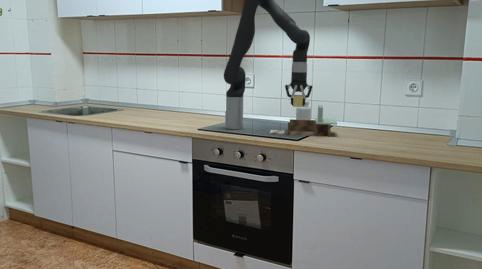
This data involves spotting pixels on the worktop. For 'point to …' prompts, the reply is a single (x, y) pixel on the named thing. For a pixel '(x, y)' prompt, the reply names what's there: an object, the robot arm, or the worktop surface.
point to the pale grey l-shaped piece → (323, 121)
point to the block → (298, 101)
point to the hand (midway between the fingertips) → (297, 105)
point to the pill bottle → (303, 112)
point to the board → (304, 128)
